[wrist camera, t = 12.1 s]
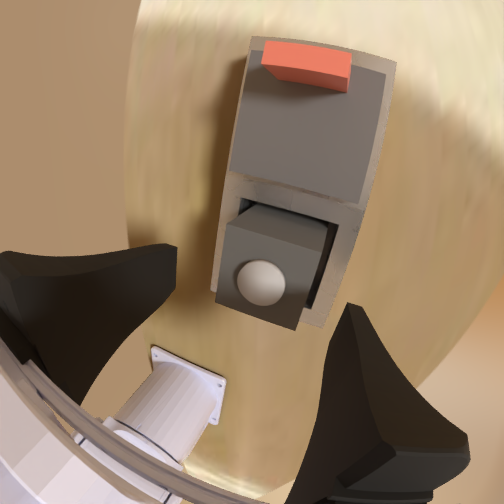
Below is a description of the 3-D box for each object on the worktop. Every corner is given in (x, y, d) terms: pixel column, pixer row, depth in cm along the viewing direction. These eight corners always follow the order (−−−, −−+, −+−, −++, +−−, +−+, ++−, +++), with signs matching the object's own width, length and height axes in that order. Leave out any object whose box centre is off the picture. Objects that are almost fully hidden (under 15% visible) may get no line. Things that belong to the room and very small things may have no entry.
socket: (326, 306, 17) (322, 328, 15) (226, 273, 18) (210, 290, 16) (389, 74, 11) (396, 61, 8) (265, 50, 12) (251, 36, 10)
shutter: (357, 201, 11) (361, 218, 9) (233, 169, 13) (202, 176, 10) (384, 77, 9) (395, 56, 6) (255, 53, 10) (229, 31, 7)
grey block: (310, 281, 16) (293, 336, 12) (249, 261, 17) (211, 306, 12) (329, 220, 15) (320, 256, 10) (261, 200, 15) (222, 226, 11)
